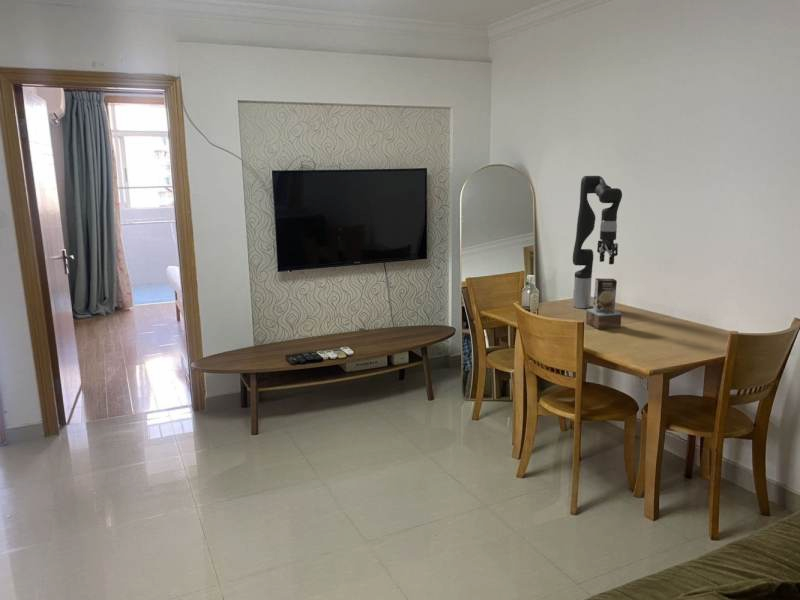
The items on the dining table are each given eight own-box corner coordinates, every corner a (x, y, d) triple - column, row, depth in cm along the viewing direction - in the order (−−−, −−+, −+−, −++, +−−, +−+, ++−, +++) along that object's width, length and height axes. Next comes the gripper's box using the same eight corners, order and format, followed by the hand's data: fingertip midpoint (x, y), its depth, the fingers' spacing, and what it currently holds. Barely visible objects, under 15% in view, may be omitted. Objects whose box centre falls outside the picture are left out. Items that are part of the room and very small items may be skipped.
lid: (586, 310, 304) (586, 307, 304) (608, 309, 306) (608, 306, 306) (599, 316, 292) (599, 313, 292) (621, 314, 295) (621, 311, 295)
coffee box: (596, 312, 297) (597, 280, 293) (592, 309, 303) (594, 278, 299) (615, 312, 296) (617, 280, 292) (611, 309, 302) (613, 278, 299)
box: (586, 323, 305) (586, 311, 304) (607, 322, 308) (607, 309, 306) (598, 329, 294) (599, 316, 292) (620, 328, 296) (621, 314, 295)
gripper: (593, 228, 296) (592, 261, 300) (609, 231, 283) (607, 265, 286) (607, 228, 298) (605, 260, 302) (623, 231, 284) (621, 264, 288)
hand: (606, 262), depth 294 cm, fingers open, 8 cm apart
